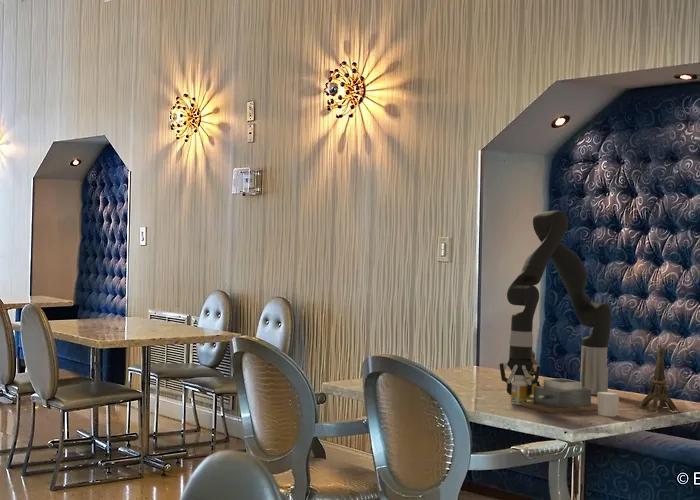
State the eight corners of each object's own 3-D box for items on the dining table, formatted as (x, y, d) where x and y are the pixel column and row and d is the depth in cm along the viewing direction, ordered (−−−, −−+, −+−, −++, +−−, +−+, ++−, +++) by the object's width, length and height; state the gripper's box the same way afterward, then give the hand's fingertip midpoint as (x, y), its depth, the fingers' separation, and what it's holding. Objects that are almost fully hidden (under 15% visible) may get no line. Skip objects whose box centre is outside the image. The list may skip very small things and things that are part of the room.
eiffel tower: (650, 412, 323) (653, 336, 323) (636, 407, 334) (639, 333, 333) (680, 413, 325) (683, 337, 325) (665, 407, 335) (668, 334, 335)
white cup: (593, 412, 318) (594, 391, 318) (614, 413, 318) (615, 391, 318) (600, 416, 311) (601, 394, 311) (621, 417, 312) (622, 394, 311)
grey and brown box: (571, 403, 336) (572, 376, 336) (601, 409, 324) (602, 382, 324) (521, 406, 324) (523, 379, 324) (551, 413, 313) (552, 385, 312)
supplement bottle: (528, 403, 331) (529, 374, 331) (525, 405, 326) (526, 376, 326) (512, 402, 332) (513, 373, 332) (509, 404, 327) (510, 375, 327)
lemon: (536, 398, 342) (537, 375, 342) (519, 397, 343) (520, 374, 343) (536, 396, 348) (537, 374, 348) (520, 395, 349) (521, 372, 349)
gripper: (543, 344, 331) (541, 395, 331) (500, 342, 334) (498, 392, 334) (542, 346, 324) (540, 398, 324) (498, 344, 327) (496, 395, 327)
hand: (519, 394), depth 329 cm, fingers closed on supplement bottle, 5 cm apart
